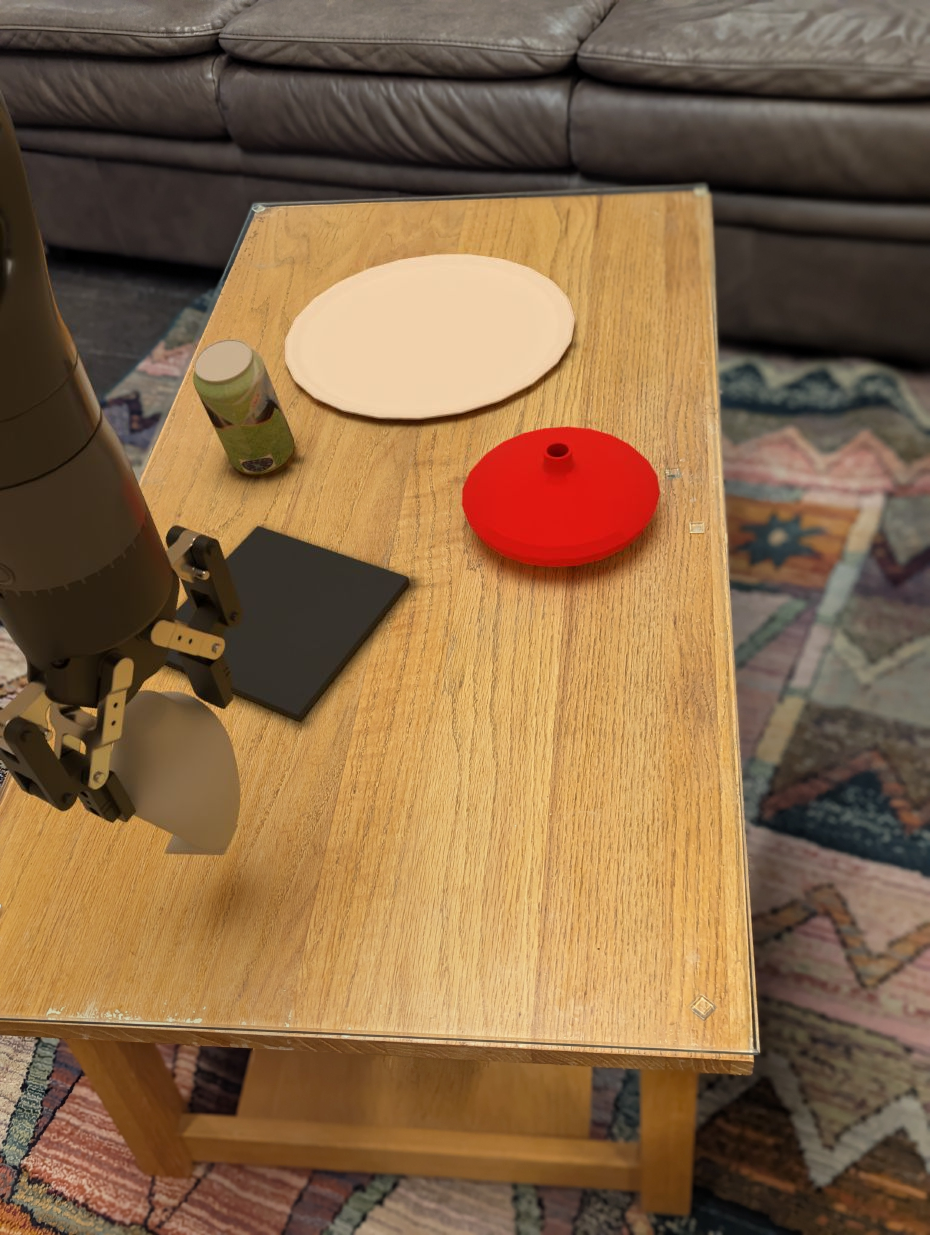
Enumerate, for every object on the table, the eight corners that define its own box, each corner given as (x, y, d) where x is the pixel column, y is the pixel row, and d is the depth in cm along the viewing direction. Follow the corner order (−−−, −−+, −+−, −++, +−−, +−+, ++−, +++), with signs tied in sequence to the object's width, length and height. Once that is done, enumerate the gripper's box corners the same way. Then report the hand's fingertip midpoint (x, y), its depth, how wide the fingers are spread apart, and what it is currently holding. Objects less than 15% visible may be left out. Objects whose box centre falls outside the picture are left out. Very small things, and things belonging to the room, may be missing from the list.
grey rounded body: (225, 901, 60) (163, 778, 51) (139, 883, 61) (65, 759, 53) (274, 790, 65) (225, 660, 56) (194, 775, 66) (134, 646, 57)
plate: (570, 253, 117) (569, 242, 116) (581, 416, 97) (581, 405, 96) (306, 273, 119) (303, 263, 119) (264, 436, 100) (261, 425, 99)
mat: (300, 722, 76) (297, 715, 76) (142, 655, 82) (139, 648, 82) (410, 583, 85) (408, 576, 84) (259, 532, 91) (257, 525, 90)
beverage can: (303, 437, 99) (273, 323, 90) (286, 490, 94) (252, 374, 85) (238, 438, 100) (201, 325, 91) (217, 490, 95) (177, 376, 86)
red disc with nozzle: (479, 455, 95) (472, 388, 90) (662, 458, 92) (665, 389, 87) (450, 583, 84) (440, 516, 79) (655, 591, 81) (658, 522, 76)
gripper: (105, 405, 50) (199, 639, 62) (-144, 607, 42) (20, 832, 54) (230, 444, 47) (304, 683, 59) (-12, 670, 39) (130, 893, 51)
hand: (168, 753), depth 57 cm, fingers closed on grey rounded body, 7 cm apart
